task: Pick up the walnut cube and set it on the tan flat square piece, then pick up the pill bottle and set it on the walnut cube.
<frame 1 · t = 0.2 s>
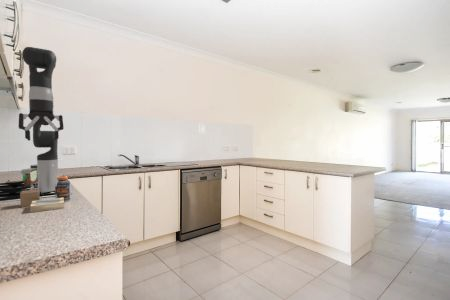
hand: (42, 140, 97), 28 cm above the countertop, tool pointing down, fingers open, 8 cm apart
tan flat square piece: (48, 207, 101), on the countertop
canned tomato: (38, 180, 167), on the countertop
food container: (28, 185, 151), on the countertop
walnut cube: (30, 204, 105), on the countertop
pill bottle: (63, 200, 113), on the countertop
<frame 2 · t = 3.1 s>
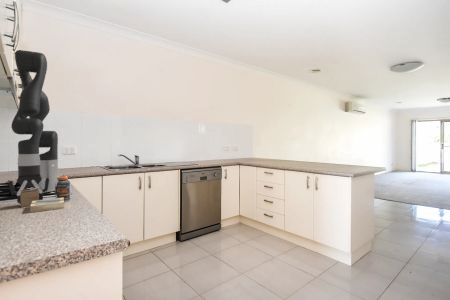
hand: (30, 202, 105), 1 cm above the countertop, tool pointing down, fingers closed on walnut cube, 6 cm apart
walnut cube: (30, 204, 105), on the countertop, touching gripper
everything else where it was.
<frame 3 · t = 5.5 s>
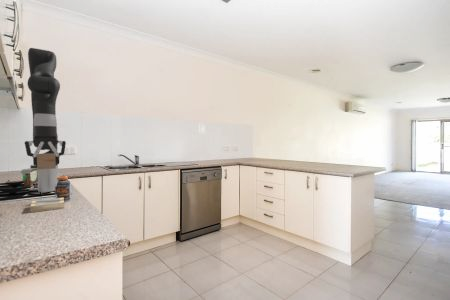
hand: (46, 165, 100), 18 cm above the countertop, tool pointing down, fingers closed on walnut cube, 6 cm apart
walnut cube: (46, 168, 100), point 17 cm above the countertop, touching gripper
everything else where it was.
when the fingers open (5 cm above the countertop, at t = 8.4 s): walnut cube stays where it is, resting on tan flat square piece.
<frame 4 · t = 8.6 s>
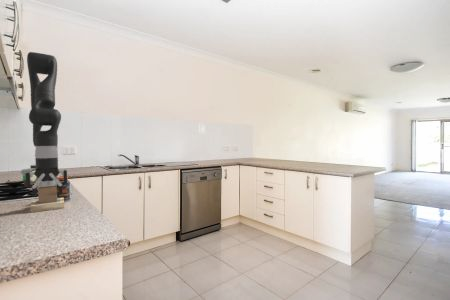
hand: (47, 195, 101), 5 cm above the countertop, tool pointing down, fingers open, 7 cm apart
walnut cube: (48, 201, 101), point 3 cm above the countertop, touching tan flat square piece
everything else where it was.
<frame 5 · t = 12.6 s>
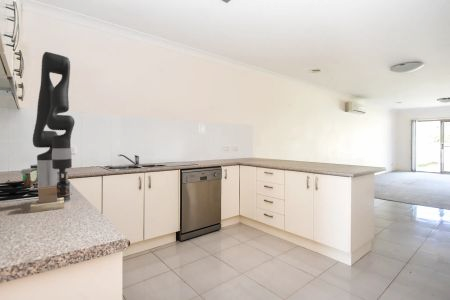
hand: (62, 193, 112), 3 cm above the countertop, tool pointing down, fingers closed on pill bottle, 6 cm apart
pill bottle: (63, 200, 113), on the countertop, touching gripper
everything else where it was.
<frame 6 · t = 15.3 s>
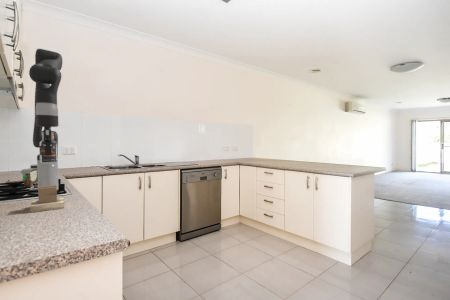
hand: (48, 155, 101), 22 cm above the countertop, tool pointing down, fingers closed on pill bottle, 6 cm apart
pill bottle: (48, 163, 101), point 19 cm above the countertop, touching gripper
everything else where it was.
when the fingers open (13 cm above the countertop, at t = 18.0 s): pill bottle stays where it is, resting on walnut cube.
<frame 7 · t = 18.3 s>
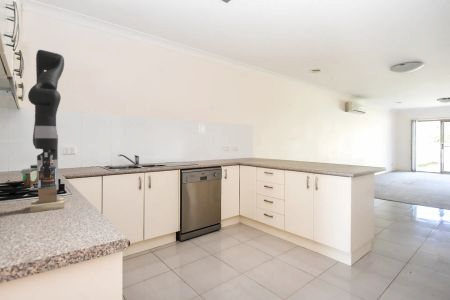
hand: (47, 176, 100), 13 cm above the countertop, tool pointing down, fingers open, 8 cm apart
walnut cube: (48, 201, 101), point 3 cm above the countertop, touching tan flat square piece, pill bottle
pill bottle: (47, 187, 101), point 8 cm above the countertop, touching walnut cube
everything else where it was.
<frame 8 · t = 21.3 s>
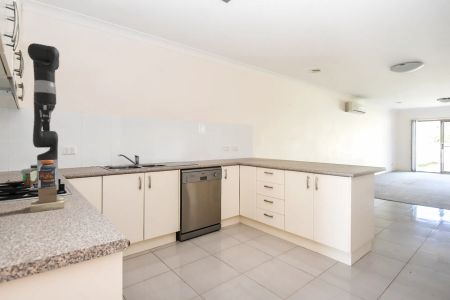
hand: (46, 131, 103), 32 cm above the countertop, tool pointing down, fingers open, 8 cm apart
nothing on the countertop moved.
at the end: walnut cube 0.1 cm off-centre on the tan flat square piece, point 2.6 cm above the tan flat square piece's base; pill bottle 0.0 cm off-centre on the walnut cube, point 5.8 cm above the walnut cube's base; pill bottle tilted 0° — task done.
